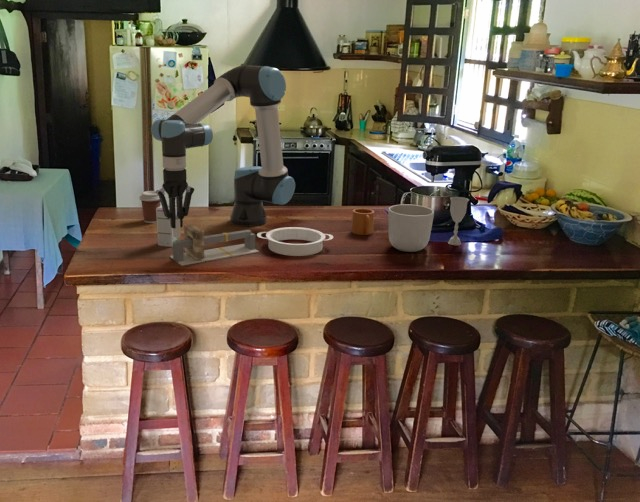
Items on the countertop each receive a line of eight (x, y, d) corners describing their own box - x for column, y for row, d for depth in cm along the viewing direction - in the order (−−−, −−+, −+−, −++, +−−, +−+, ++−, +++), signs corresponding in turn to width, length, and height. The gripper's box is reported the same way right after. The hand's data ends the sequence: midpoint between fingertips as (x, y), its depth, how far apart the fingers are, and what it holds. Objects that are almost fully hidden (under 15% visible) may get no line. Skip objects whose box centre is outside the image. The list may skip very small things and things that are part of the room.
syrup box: (172, 247, 236) (170, 209, 231) (157, 245, 237) (155, 207, 233) (178, 242, 241) (177, 205, 237) (163, 241, 242) (162, 203, 238)
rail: (245, 244, 242) (245, 226, 240) (258, 252, 234) (259, 233, 232) (170, 257, 226) (169, 237, 223) (181, 265, 218) (180, 245, 216)
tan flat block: (192, 250, 230) (192, 224, 227) (204, 258, 222) (203, 231, 219) (184, 251, 228) (184, 225, 225) (196, 259, 221) (195, 232, 218)
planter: (439, 250, 245) (443, 211, 240) (409, 258, 234) (413, 218, 229) (406, 239, 257) (409, 202, 252) (376, 246, 246) (379, 208, 241)
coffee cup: (161, 217, 273) (159, 189, 269) (165, 223, 265) (164, 194, 261) (138, 218, 269) (137, 190, 266) (142, 224, 262) (141, 196, 258)
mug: (353, 237, 256) (354, 215, 254) (350, 229, 268) (351, 208, 265) (375, 237, 257) (376, 215, 254) (372, 229, 268) (373, 208, 265)
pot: (254, 256, 231) (254, 243, 230) (259, 237, 252) (259, 225, 251) (333, 258, 232) (334, 246, 230) (331, 240, 253) (332, 228, 251)
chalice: (465, 242, 255) (470, 198, 250) (461, 247, 249) (466, 202, 244) (447, 239, 258) (452, 195, 252) (443, 244, 252) (447, 199, 247)
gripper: (159, 172, 205) (162, 242, 213) (197, 168, 213) (199, 237, 220) (151, 167, 211) (154, 236, 219) (188, 164, 218) (190, 231, 226)
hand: (177, 236), depth 220 cm, fingers closed
